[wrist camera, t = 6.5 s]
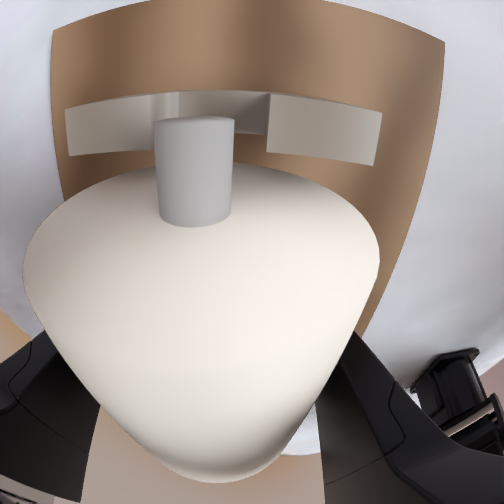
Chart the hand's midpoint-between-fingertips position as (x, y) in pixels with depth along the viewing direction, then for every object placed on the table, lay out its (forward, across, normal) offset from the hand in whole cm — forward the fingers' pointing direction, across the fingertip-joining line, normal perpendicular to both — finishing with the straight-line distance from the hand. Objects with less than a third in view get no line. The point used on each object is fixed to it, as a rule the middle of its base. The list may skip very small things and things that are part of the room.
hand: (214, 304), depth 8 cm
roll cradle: (+6, 0, 0) cm, 6 cm away
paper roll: (-2, 0, 0) cm, 2 cm away
